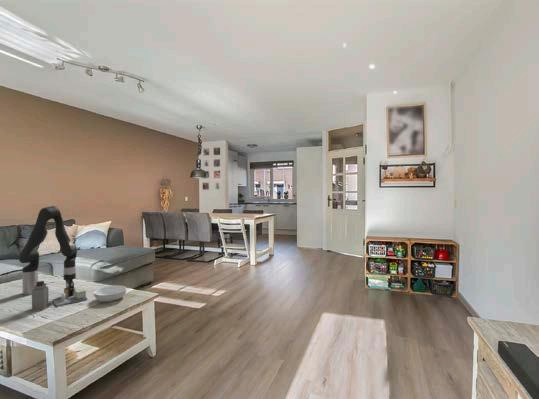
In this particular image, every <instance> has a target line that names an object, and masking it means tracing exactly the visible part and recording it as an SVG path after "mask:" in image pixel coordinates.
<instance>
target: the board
mask: <svg viewBox="0 0 539 399" xmlns="http://www.w3.org/2000/svg"><path fill="white" fill-rule="evenodd" d="M87 300H88V297H87V296H86V297H84V298H80V299H77V298H76V297H75V296H71V297H67V298H65V293H64V292H63V293H61V298H60V299H59V298H58V299H54V300H52V303H53V304H54V306H55V307H56V308H58V307H63V306H67V305H71V304H75V303H79V302H84V301H87Z"/></svg>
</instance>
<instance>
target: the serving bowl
mask: <svg viewBox="0 0 539 399" xmlns="http://www.w3.org/2000/svg"><path fill="white" fill-rule="evenodd" d="M127 289H128V288H127V287H126V286H124V285H108V286H104V287H100V288H97V289H96V290H94V292H93V296H94V298H95V299H96V300H97V301H100V302H113V300H114V301H116V300H119V299H121V298H123V297H124V296H125V295H126V292H127Z"/></svg>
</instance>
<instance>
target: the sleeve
mask: <svg viewBox="0 0 539 399" xmlns="http://www.w3.org/2000/svg"><path fill="white" fill-rule="evenodd" d="M71 289H72V288H71ZM75 289H77V288H76V287H75V286H74V290H75ZM74 290H73V296H75V291H74ZM63 293H65V298H67V297H71V296H69V289H68V288H66V287H64V288H63Z"/></svg>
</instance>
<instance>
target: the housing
mask: <svg viewBox="0 0 539 399" xmlns="http://www.w3.org/2000/svg"><path fill="white" fill-rule="evenodd" d="M74 291H75V297H76V298H77V299H80V298H84V297H87V295H86V294H87V290H86V289H85V288H84V287H81V288H76V289H75V290H74Z"/></svg>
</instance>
